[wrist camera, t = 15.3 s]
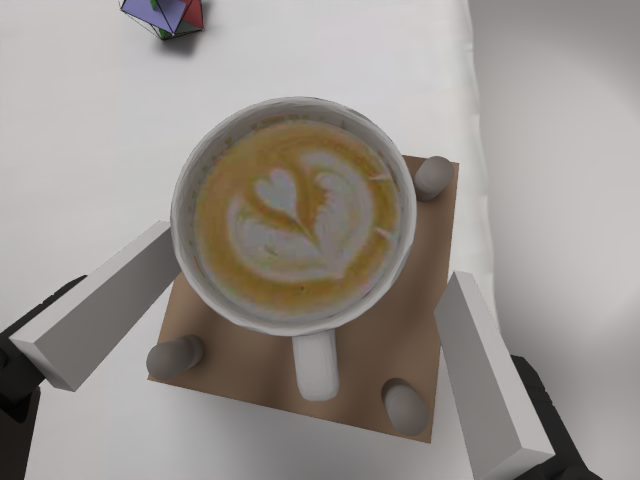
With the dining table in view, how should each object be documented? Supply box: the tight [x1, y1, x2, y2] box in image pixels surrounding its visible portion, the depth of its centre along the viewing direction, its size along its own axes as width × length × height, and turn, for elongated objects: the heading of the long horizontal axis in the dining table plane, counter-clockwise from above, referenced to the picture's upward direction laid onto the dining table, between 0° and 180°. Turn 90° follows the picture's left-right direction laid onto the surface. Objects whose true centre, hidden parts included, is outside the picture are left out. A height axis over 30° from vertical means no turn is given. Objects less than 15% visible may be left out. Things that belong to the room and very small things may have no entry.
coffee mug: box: [170, 97, 417, 401], centre depth 15 cm, size 13×10×10 cm
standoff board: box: [146, 155, 459, 444], centre depth 20 cm, size 20×20×4 cm
